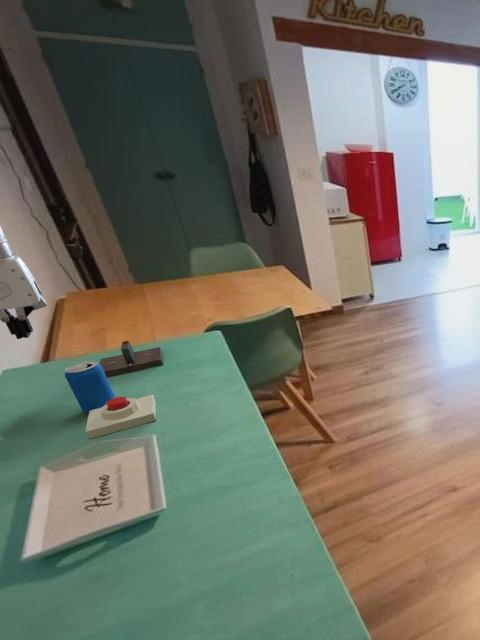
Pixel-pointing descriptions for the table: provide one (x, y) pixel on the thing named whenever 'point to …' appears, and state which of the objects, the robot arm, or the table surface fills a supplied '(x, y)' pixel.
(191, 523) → the table surface
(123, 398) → the button
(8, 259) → the robot arm
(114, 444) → the table surface
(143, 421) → the housing
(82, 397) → the beverage can
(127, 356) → the knob
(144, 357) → the panel
